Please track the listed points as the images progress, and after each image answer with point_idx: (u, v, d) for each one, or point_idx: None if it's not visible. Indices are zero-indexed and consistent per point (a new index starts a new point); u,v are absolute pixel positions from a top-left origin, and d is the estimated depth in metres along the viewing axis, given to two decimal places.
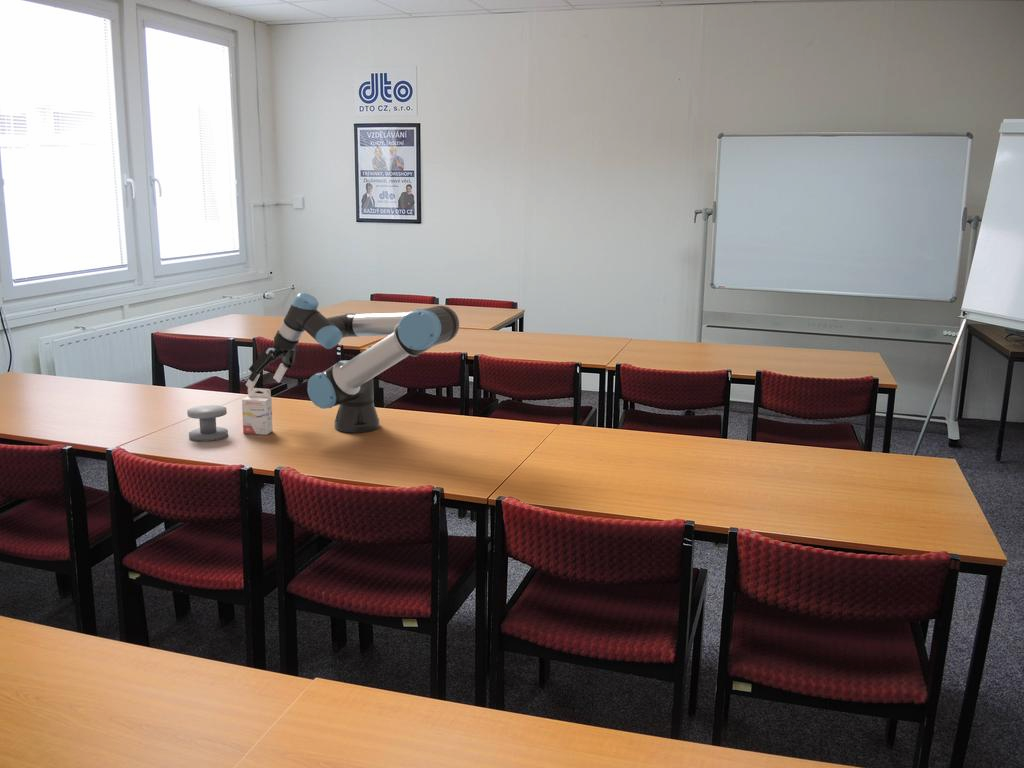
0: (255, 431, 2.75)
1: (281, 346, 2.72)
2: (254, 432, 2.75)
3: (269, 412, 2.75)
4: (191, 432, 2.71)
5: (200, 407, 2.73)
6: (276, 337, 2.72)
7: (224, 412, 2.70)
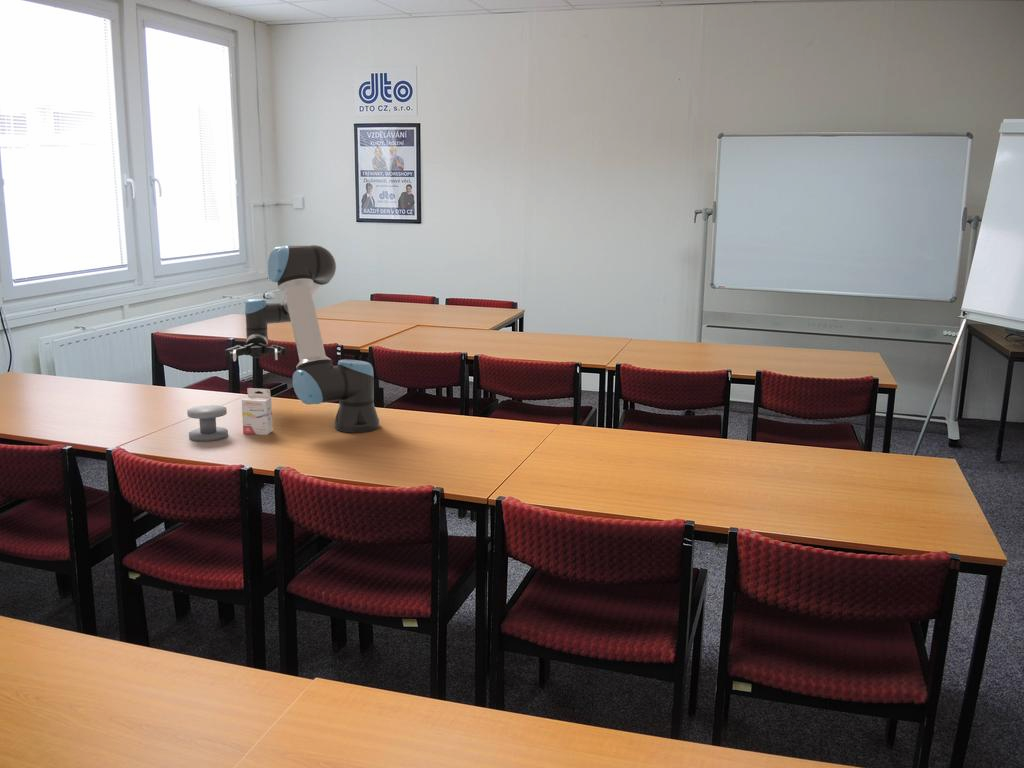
0: (255, 431, 2.75)
1: (246, 343, 2.97)
2: (254, 432, 2.75)
3: (269, 412, 2.75)
4: (191, 432, 2.71)
5: (200, 407, 2.73)
6: None
7: (224, 412, 2.70)
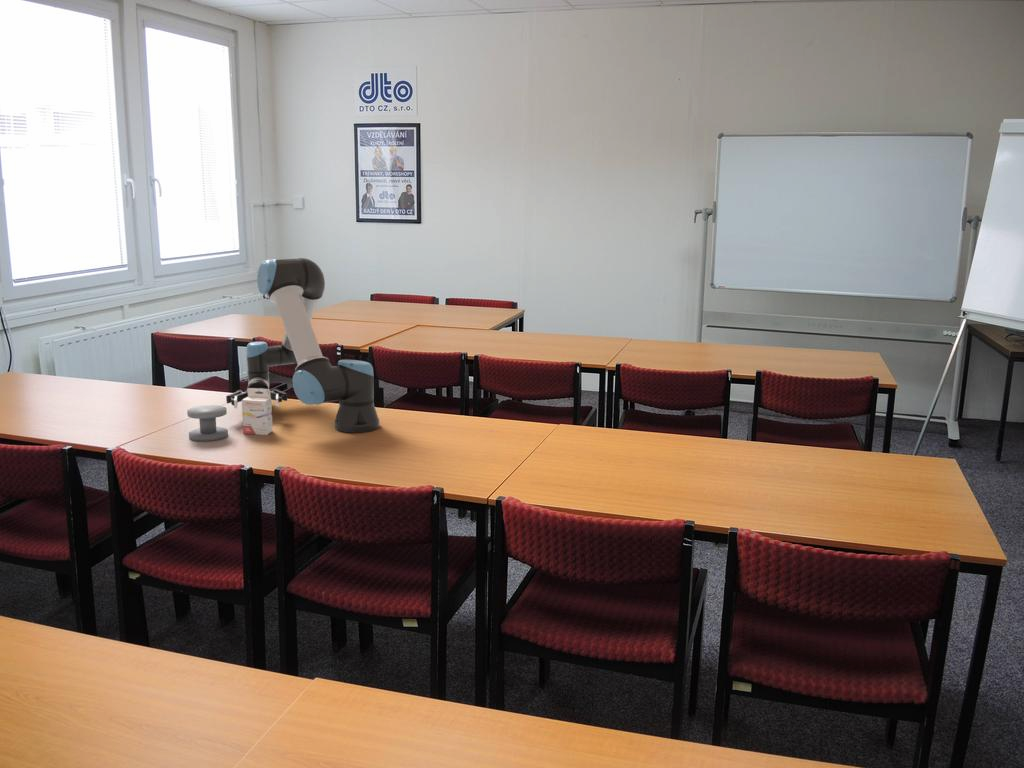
0: (255, 431, 2.75)
1: (247, 387, 2.98)
2: (254, 432, 2.75)
3: (269, 412, 2.75)
4: (191, 432, 2.71)
5: (200, 407, 2.73)
6: None
7: (224, 412, 2.70)
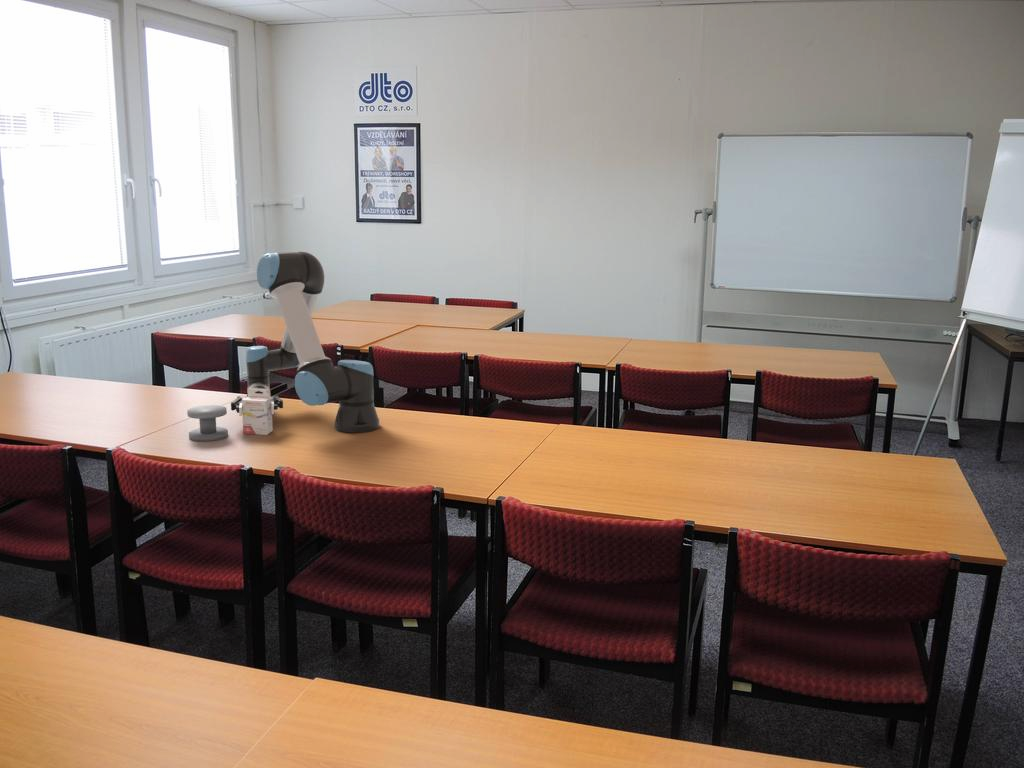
0: (255, 431, 2.75)
1: (247, 393, 2.88)
2: (254, 432, 2.75)
3: (269, 412, 2.75)
4: (191, 432, 2.71)
5: (200, 407, 2.73)
6: None
7: (224, 412, 2.70)
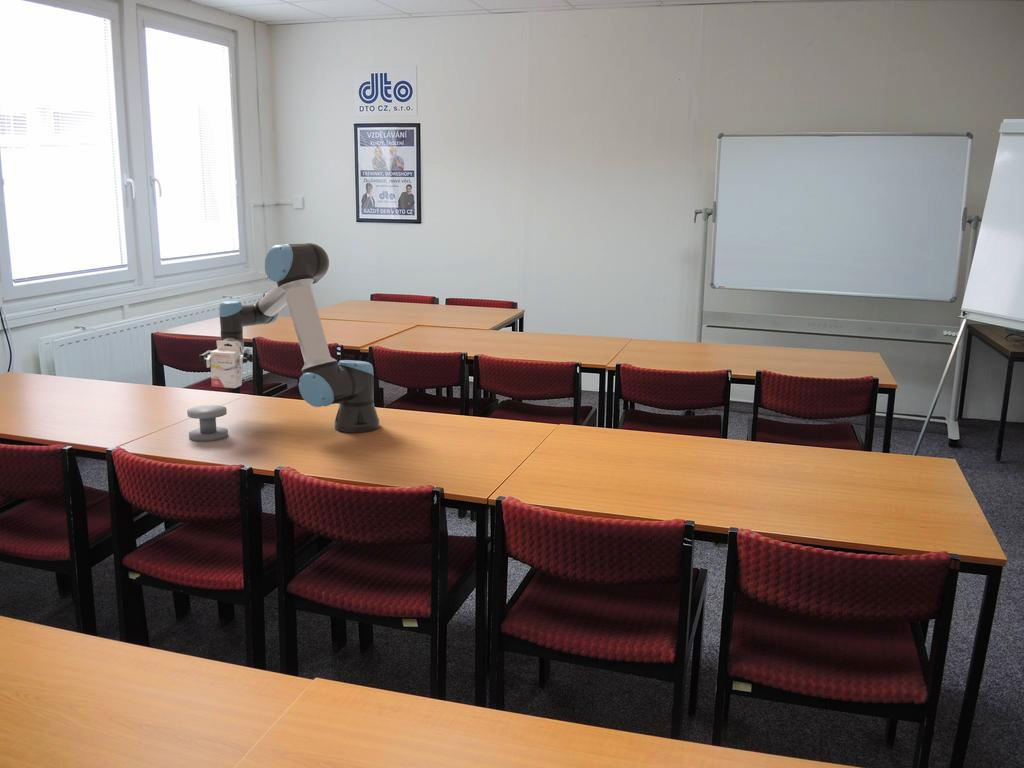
0: (223, 384, 2.70)
1: None
2: (223, 385, 2.70)
3: (238, 365, 2.70)
4: (191, 432, 2.71)
5: (200, 407, 2.73)
6: None
7: (224, 412, 2.70)
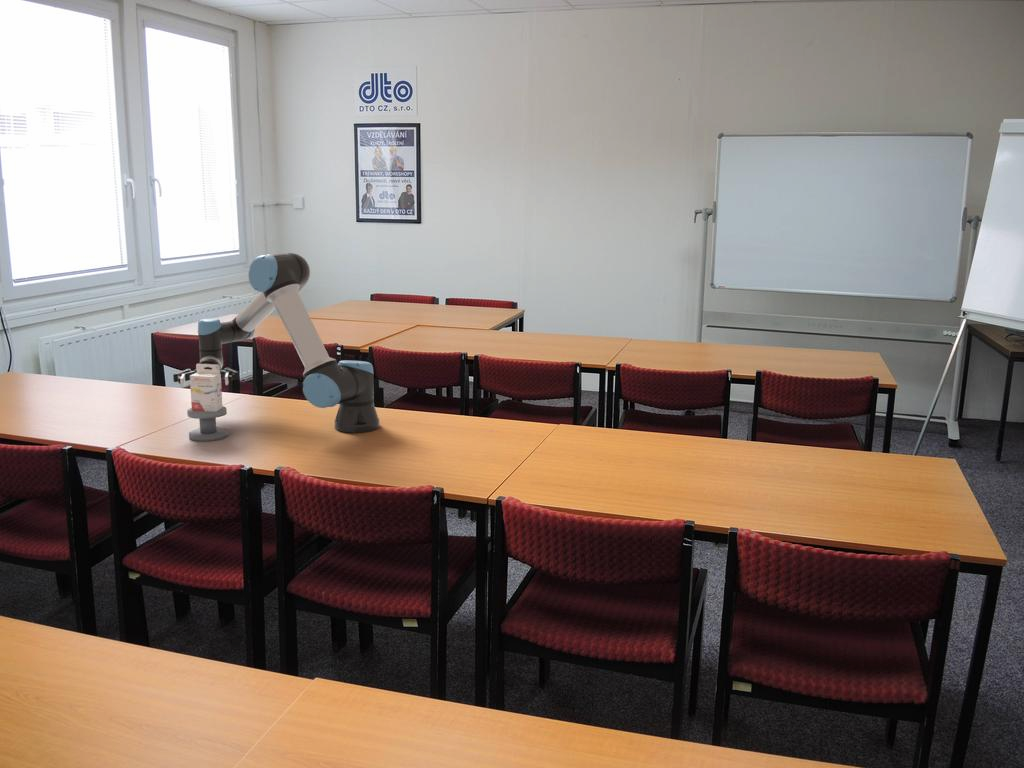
0: (204, 408, 2.68)
1: None
2: (203, 409, 2.68)
3: (218, 388, 2.68)
4: (191, 432, 2.71)
5: None
6: None
7: (224, 412, 2.70)
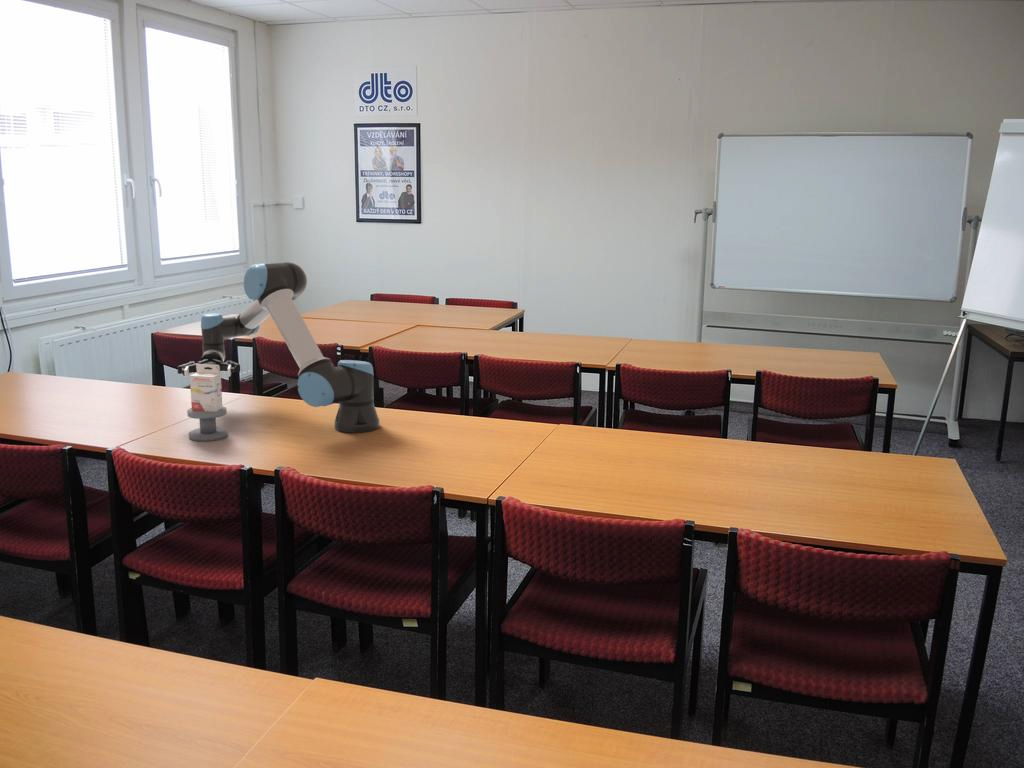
0: (204, 408, 2.68)
1: (201, 359, 2.93)
2: (203, 409, 2.68)
3: (218, 389, 2.68)
4: (191, 432, 2.71)
5: None
6: None
7: (224, 412, 2.70)
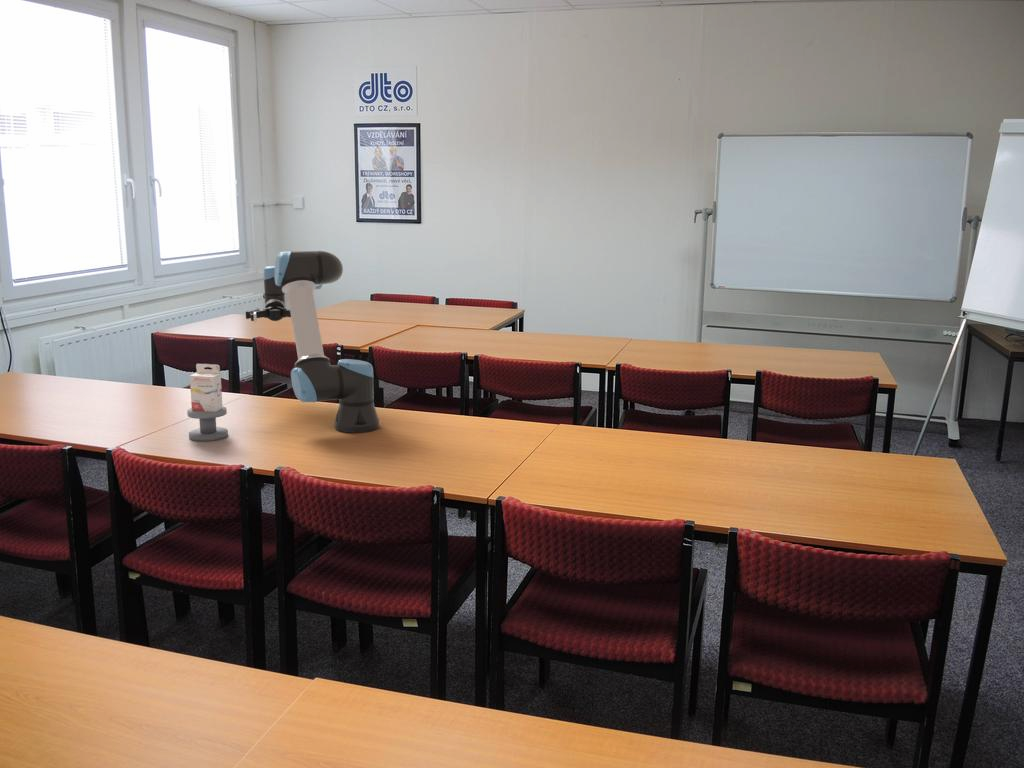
0: (204, 408, 2.68)
1: (265, 307, 3.11)
2: (203, 409, 2.68)
3: (218, 388, 2.68)
4: (191, 432, 2.71)
5: None
6: None
7: (224, 412, 2.70)
